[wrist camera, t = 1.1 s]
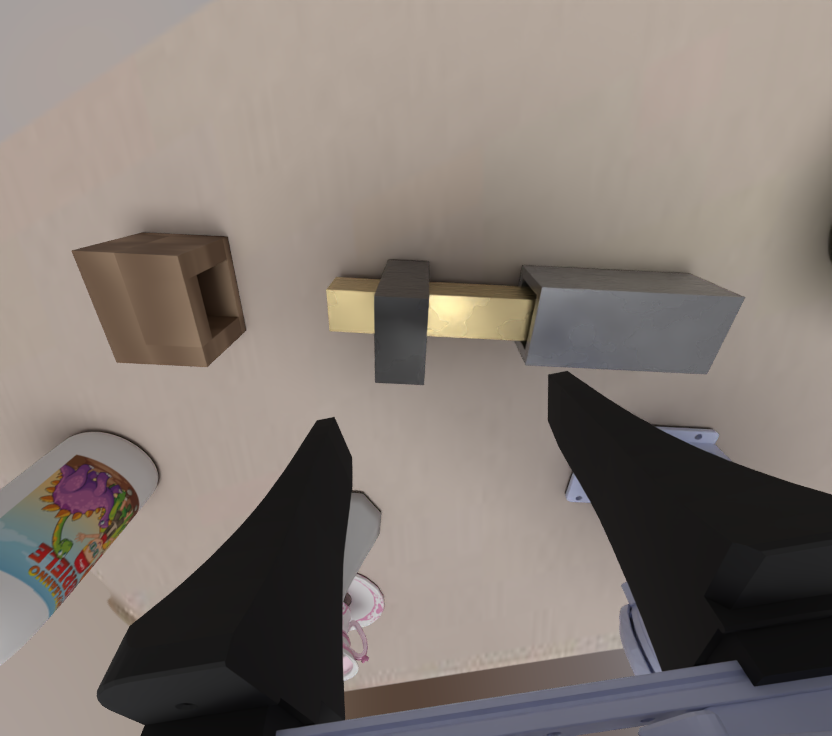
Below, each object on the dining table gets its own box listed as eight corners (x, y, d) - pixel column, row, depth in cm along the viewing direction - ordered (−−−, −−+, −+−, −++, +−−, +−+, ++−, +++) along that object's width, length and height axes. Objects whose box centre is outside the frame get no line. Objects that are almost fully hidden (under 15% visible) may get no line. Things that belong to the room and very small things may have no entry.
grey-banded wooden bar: (684, 274, 22) (778, 316, 16) (657, 341, 24) (731, 400, 18) (337, 257, 22) (304, 292, 16) (341, 326, 24) (314, 379, 18)
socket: (227, 236, 22) (177, 255, 17) (246, 330, 25) (207, 367, 20) (142, 232, 22) (71, 250, 17) (171, 326, 25) (116, 362, 20)
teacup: (276, 619, 43) (254, 685, 38) (272, 556, 37) (246, 623, 32) (378, 631, 44) (371, 697, 38) (391, 571, 38) (385, 639, 32)
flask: (291, 493, 32) (240, 616, 24) (370, 482, 31) (348, 606, 23) (318, 544, 36) (283, 669, 27) (391, 536, 35) (379, 662, 26)
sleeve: (690, 273, 22) (745, 297, 18) (662, 340, 24) (706, 374, 20) (522, 264, 22) (542, 287, 18) (510, 332, 24) (525, 365, 20)
